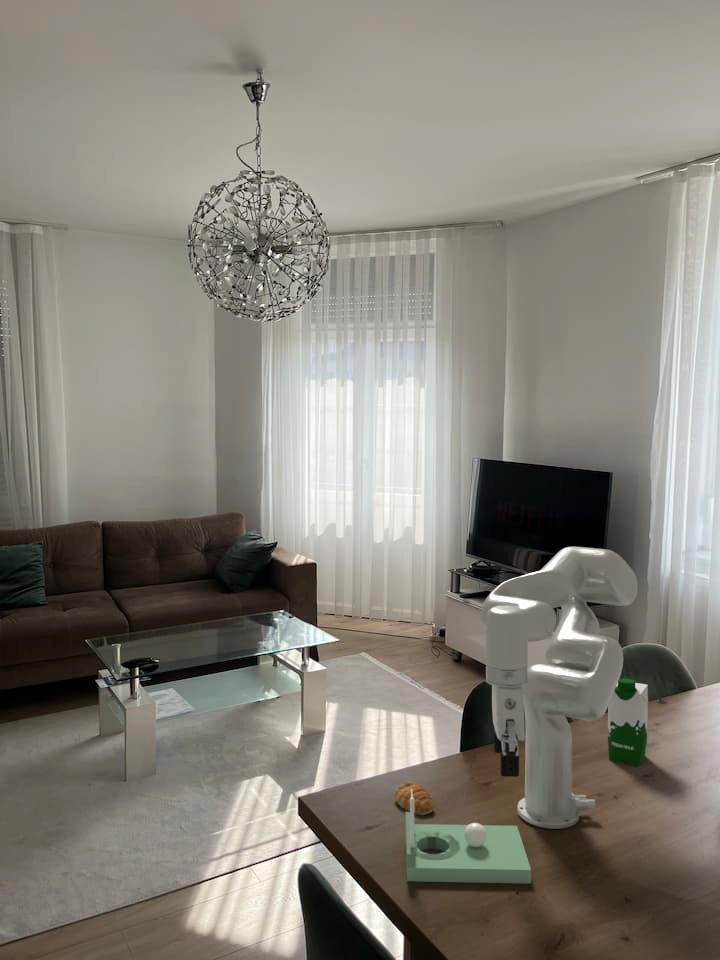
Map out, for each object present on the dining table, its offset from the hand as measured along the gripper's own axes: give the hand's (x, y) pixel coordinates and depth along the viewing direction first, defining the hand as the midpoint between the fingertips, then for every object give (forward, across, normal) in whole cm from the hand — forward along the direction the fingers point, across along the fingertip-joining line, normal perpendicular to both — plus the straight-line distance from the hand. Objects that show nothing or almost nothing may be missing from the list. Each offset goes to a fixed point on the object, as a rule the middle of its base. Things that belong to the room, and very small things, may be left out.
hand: (506, 763), depth 141 cm
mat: (+18, 0, +8) cm, 20 cm away
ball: (+14, 0, +6) cm, 15 cm away
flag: (+18, -4, +18) cm, 26 cm away
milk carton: (+19, +45, -36) cm, 61 cm away
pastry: (+19, +20, +17) cm, 32 cm away
